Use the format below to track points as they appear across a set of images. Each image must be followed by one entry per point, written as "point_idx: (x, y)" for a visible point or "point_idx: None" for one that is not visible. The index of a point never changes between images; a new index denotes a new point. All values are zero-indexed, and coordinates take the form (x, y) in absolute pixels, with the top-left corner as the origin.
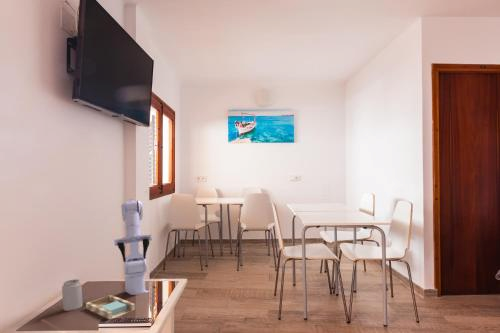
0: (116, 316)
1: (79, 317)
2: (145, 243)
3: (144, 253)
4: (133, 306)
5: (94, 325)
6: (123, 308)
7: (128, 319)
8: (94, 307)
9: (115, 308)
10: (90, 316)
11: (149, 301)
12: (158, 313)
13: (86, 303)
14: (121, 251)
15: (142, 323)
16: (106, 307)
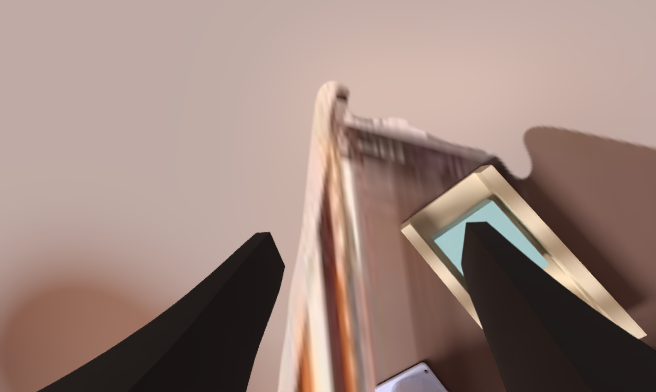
0: (460, 185)
1: (630, 248)
2: (106, 365)
3: (237, 253)
4: (405, 225)
5: (535, 147)
6: (443, 230)
7: (413, 165)
8: (580, 262)
9: (474, 218)
10: (577, 241)
11: (364, 298)
12: (324, 183)
13: (640, 328)
14: (600, 320)
15: (363, 120)
16: (518, 244)
